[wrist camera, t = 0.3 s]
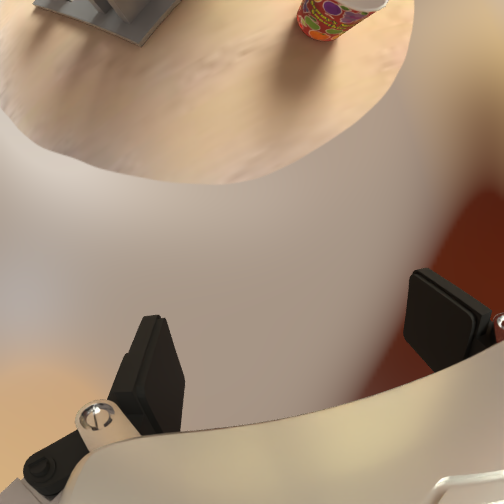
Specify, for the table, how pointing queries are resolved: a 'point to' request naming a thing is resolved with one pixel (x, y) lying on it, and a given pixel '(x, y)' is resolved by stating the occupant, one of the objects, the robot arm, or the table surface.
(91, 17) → the socket block
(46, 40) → the table surface
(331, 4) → the smoothie
